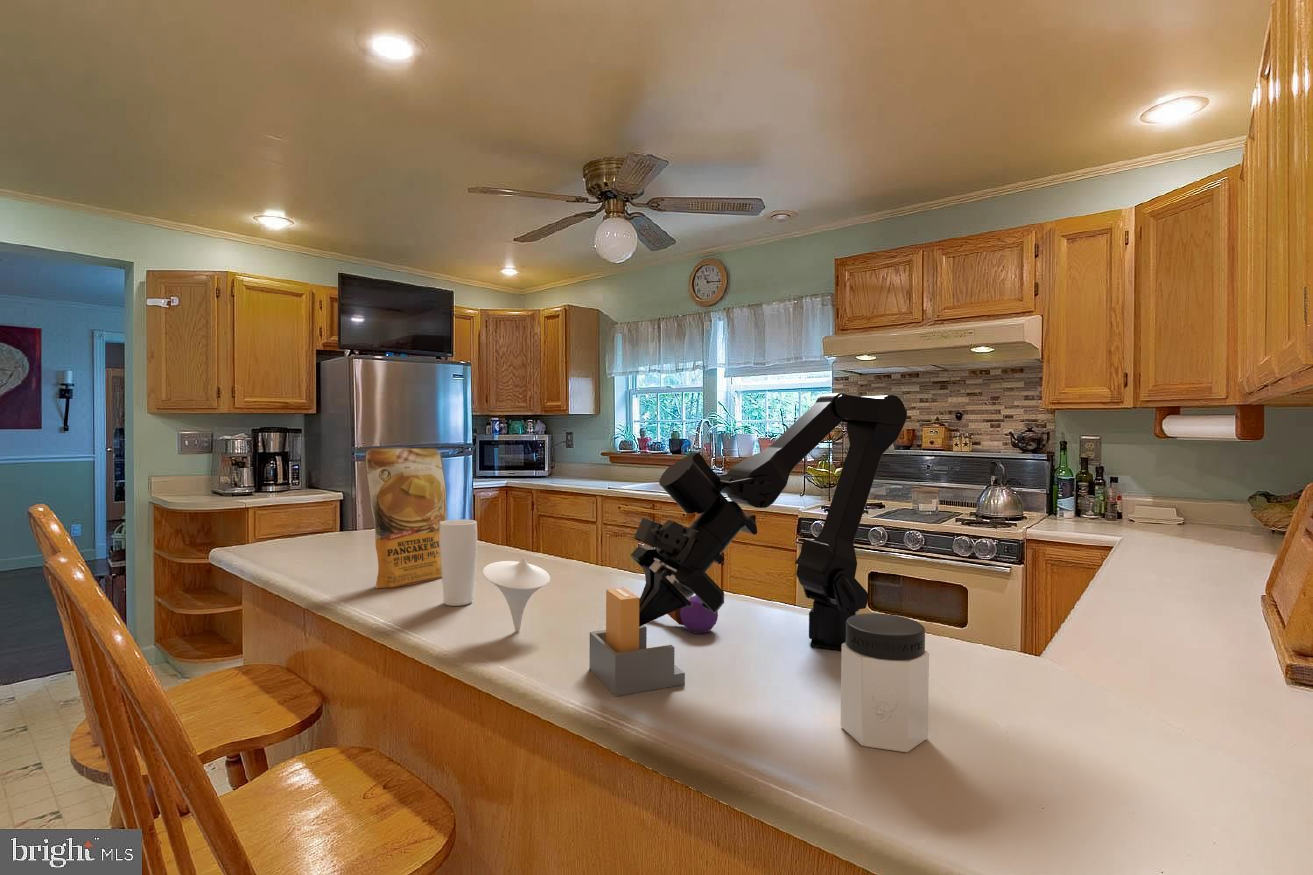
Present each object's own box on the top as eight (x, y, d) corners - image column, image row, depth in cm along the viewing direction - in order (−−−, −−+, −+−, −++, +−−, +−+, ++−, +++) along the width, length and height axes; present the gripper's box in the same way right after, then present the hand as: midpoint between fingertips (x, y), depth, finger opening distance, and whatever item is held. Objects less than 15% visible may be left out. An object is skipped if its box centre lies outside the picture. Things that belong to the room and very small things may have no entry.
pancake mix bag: (357, 587, 133) (356, 448, 132) (440, 570, 148) (440, 445, 147) (374, 592, 129) (373, 449, 128) (458, 575, 144) (458, 446, 143)
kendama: (634, 585, 120) (725, 596, 107) (632, 619, 119) (723, 634, 106) (611, 585, 116) (703, 597, 103) (609, 620, 115) (701, 636, 102)
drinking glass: (485, 601, 123) (485, 521, 123) (456, 610, 117) (456, 525, 117) (460, 596, 127) (460, 518, 126) (431, 604, 121) (430, 522, 120)
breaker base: (653, 658, 94) (653, 623, 94) (684, 684, 85) (685, 645, 85) (589, 668, 90) (589, 631, 90) (615, 696, 81) (615, 655, 81)
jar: (839, 744, 69) (840, 630, 69) (841, 712, 77) (843, 609, 77) (931, 758, 67) (933, 639, 66) (924, 723, 74) (926, 617, 74)
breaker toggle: (623, 657, 90) (623, 586, 89) (638, 671, 85) (639, 596, 84) (605, 659, 89) (606, 588, 88) (620, 674, 84) (621, 598, 83)
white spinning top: (564, 628, 107) (564, 555, 107) (513, 647, 98) (513, 566, 98) (520, 617, 113) (520, 547, 113) (468, 633, 104) (468, 557, 104)
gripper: (644, 490, 97) (571, 570, 93) (704, 504, 80) (618, 604, 76) (691, 540, 101) (622, 620, 97) (758, 564, 84) (678, 662, 80)
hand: (633, 624), depth 87 cm, fingers closed, pressing on breaker toggle
